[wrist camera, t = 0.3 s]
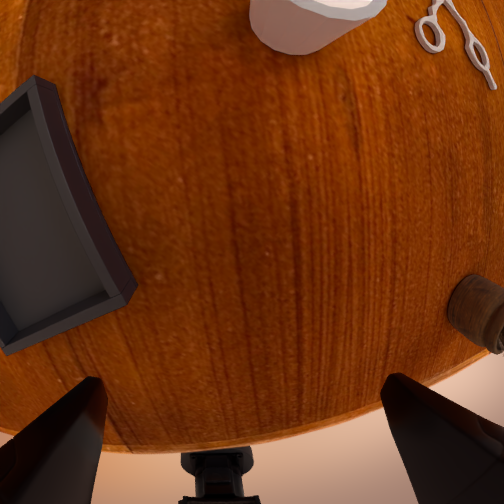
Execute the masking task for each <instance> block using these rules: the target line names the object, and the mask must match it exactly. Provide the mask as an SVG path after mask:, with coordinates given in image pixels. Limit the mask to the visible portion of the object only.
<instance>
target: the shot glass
mask: <svg viewBox="0 0 504 504" xmlns="http://www.w3.org/2000/svg"><path fill="white" fill-rule="evenodd" d="M385 6H386V0H250V12H249V18H250V23H251V28H252V30H253V31H254V33H255V34H256V36H257V37H258V38H259V40H260V41H261V42H263V43H264V44H266V45H267V46H269V47H270V48H272V49H273V50H276V51H279V52H283V53H286V54H289V55H307V54H310V53H312V52H315V51H318V50H320V49H321V48H323V47H324V46H326V45H328V44H329V43H331V42H332V41H334V40H335V39H337V38H339V37H340V36H342V35H344V34H345V33H347V32H349V31H350V30H352V29H354V28H355V27H357V26H359V25H361V24H362V23H364V22H366V21H368V20H369V19H371V18H373V17H375V16H376V15H377V14H378V13H379V12H380V11H381V10H382V9H383V8H384V7H385Z"/></svg>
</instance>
